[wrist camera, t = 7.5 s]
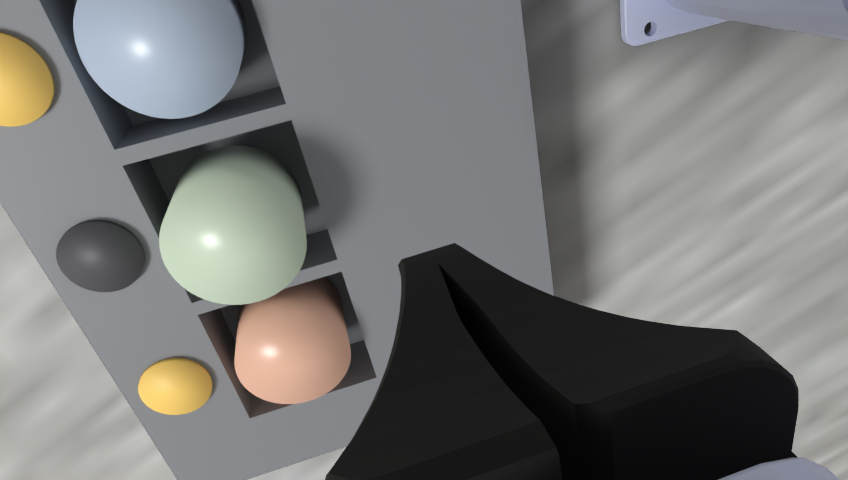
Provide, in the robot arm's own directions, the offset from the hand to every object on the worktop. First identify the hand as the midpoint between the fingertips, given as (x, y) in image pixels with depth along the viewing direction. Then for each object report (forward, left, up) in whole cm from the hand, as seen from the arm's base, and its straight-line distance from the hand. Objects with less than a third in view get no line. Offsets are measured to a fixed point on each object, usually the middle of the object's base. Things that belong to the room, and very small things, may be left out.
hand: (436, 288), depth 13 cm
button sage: (+5, 0, -8) cm, 9 cm away
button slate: (+5, -6, -9) cm, 12 cm away
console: (+3, 0, -10) cm, 11 cm away
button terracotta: (+5, +5, -9) cm, 12 cm away
